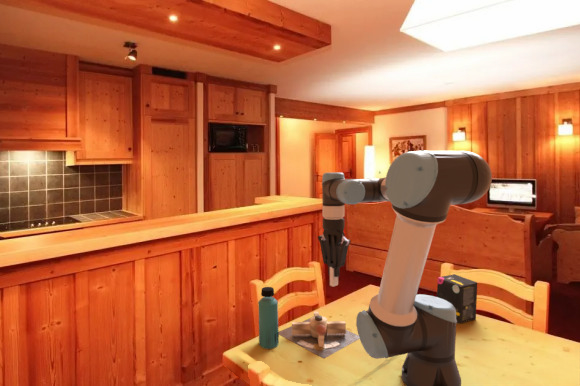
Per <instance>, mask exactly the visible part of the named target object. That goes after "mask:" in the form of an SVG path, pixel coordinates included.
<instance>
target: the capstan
mask: <svg viewBox="0 0 580 386" xmlns="http://www.w3.org/2000/svg"><path fill="white" fill-rule="evenodd" d="M309 319H310V322H303V321H292V322H291V326H292V335H299V334H310V335H311V336H312V337H315V338H317V339H318V344H319V347H324V337H326V336H327V334H346V330H347V329H346V328H347V327H346V326H347V323H346V321H344V320H341V321H338V320H335V321H333V320H332V321H331V320H330V321H328V318H327V316H323V315H320V313H319V310H318V311H316V310H315V311H313V316H312V317H310V318H309Z"/></svg>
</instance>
